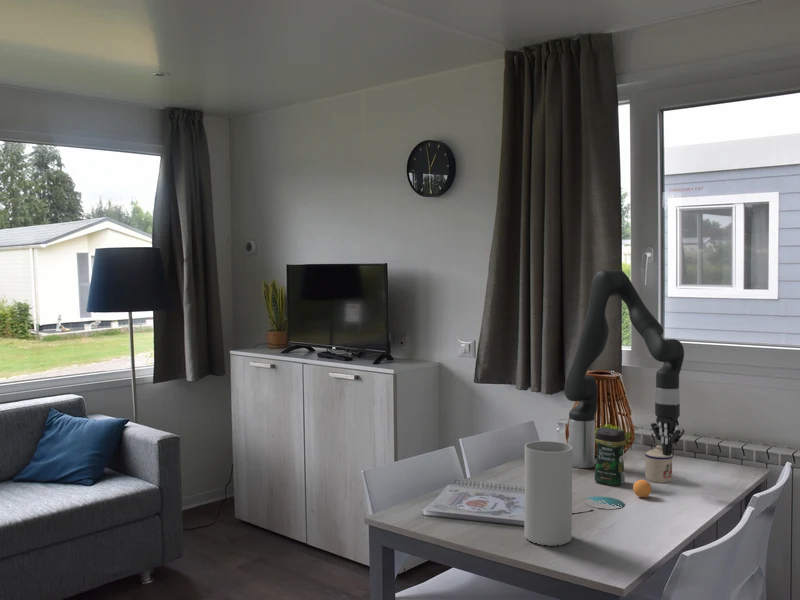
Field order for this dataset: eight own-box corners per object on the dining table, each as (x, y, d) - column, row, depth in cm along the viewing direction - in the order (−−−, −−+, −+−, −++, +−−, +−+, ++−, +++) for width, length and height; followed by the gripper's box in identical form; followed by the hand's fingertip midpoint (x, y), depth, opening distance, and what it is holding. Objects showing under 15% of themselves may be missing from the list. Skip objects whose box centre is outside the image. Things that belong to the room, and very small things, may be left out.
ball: (629, 495, 236) (629, 478, 236) (643, 493, 238) (643, 476, 238) (641, 500, 231) (641, 483, 231) (655, 498, 233) (655, 481, 233)
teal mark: (576, 500, 232) (576, 499, 232) (606, 495, 236) (606, 494, 236) (600, 511, 221) (600, 510, 221) (632, 506, 225) (632, 505, 225)
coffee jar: (591, 482, 250) (591, 428, 250) (601, 477, 257) (601, 424, 256) (618, 488, 244) (618, 432, 243) (628, 482, 250) (628, 428, 250)
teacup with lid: (668, 484, 248) (668, 450, 247) (641, 480, 253) (641, 446, 252) (677, 476, 257) (678, 443, 257) (651, 472, 263) (651, 440, 262)
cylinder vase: (541, 550, 191) (542, 454, 190) (515, 534, 202) (515, 443, 201) (581, 542, 196) (581, 449, 195) (553, 527, 207) (554, 439, 206)
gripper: (643, 399, 242) (643, 451, 242) (673, 405, 230) (673, 461, 230) (661, 397, 245) (661, 449, 245) (691, 403, 232) (691, 458, 233)
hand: (667, 455), depth 238 cm, fingers closed
